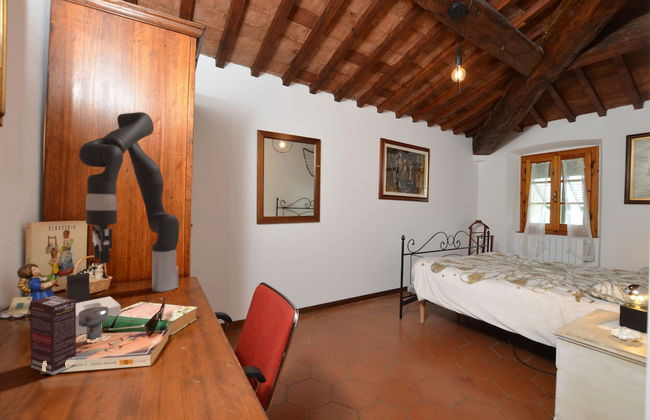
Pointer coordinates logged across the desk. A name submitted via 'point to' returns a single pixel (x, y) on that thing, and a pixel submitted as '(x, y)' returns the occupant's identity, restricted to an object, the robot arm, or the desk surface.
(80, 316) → the grey mushroom knob
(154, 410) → the desk surface
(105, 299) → the block
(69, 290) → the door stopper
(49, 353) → the supplement box
